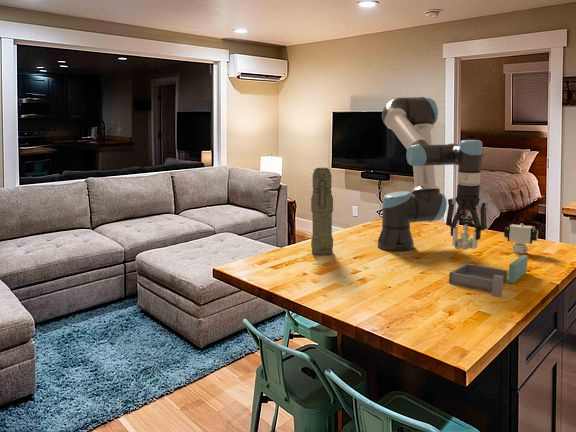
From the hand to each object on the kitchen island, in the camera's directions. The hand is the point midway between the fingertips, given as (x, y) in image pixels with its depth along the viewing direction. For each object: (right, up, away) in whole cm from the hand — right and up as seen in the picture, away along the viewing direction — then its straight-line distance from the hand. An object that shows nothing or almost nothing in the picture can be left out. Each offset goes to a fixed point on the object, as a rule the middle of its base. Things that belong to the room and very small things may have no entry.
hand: (464, 246), depth 178 cm
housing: (-1, -11, -18) cm, 21 cm away
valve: (0, -1, 0) cm, 1 cm away
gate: (+13, -10, -13) cm, 21 cm away
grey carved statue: (-50, -4, +23) cm, 56 cm away
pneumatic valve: (+29, -4, +19) cm, 35 cm away
